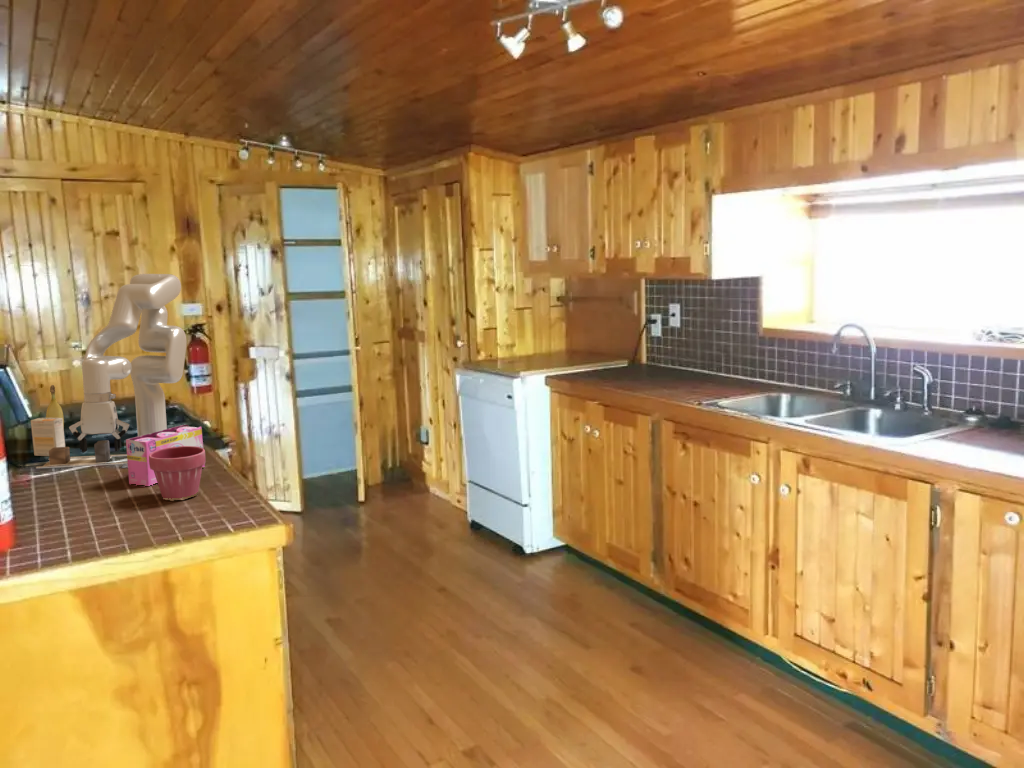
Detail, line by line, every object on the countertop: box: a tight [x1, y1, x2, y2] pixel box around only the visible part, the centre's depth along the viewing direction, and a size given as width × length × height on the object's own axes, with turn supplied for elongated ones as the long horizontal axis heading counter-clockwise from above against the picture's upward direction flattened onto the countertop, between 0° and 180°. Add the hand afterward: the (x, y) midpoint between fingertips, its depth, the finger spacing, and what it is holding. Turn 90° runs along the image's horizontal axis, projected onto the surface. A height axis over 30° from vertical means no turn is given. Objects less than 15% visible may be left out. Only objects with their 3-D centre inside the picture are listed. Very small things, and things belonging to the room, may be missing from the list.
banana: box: [45, 384, 65, 429], centre depth 277 cm, size 23×6×20 cm, turn 23°
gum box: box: [125, 424, 206, 487], centre depth 239 cm, size 24×8×14 cm, turn 158°
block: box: [48, 446, 71, 465], centre depth 250 cm, size 4×4×4 cm
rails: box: [35, 453, 128, 469], centre depth 252 cm, size 30×12×2 cm, turn 102°
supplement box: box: [30, 417, 66, 457], centre depth 260 cm, size 8×5×13 cm, turn 84°
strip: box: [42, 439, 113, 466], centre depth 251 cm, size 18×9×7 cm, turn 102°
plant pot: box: [149, 446, 207, 499], centre depth 218 cm, size 14×14×13 cm
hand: (101, 451), depth 252 cm, fingers open, 9 cm apart
